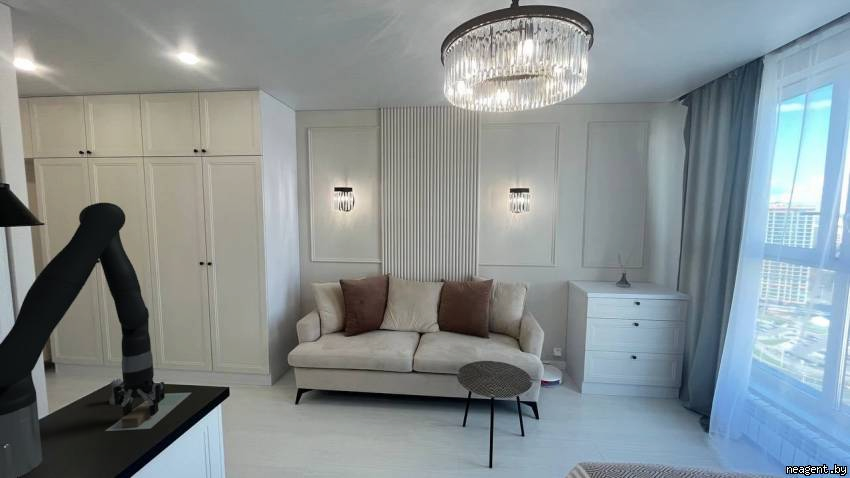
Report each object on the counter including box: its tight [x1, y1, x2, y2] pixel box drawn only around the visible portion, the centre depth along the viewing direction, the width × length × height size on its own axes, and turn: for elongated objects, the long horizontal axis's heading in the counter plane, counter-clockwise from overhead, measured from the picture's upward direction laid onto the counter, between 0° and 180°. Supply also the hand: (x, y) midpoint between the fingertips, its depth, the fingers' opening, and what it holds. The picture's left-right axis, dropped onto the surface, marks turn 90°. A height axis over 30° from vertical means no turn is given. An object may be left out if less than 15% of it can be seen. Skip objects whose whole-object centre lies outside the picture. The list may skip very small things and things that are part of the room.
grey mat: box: [105, 392, 192, 432], centre depth 113 cm, size 21×13×1 cm, turn 5°
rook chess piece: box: [108, 378, 123, 405], centre depth 118 cm, size 4×4×8 cm
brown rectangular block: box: [121, 401, 159, 428], centre depth 108 cm, size 9×4×3 cm, turn 5°
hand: (141, 415), depth 108 cm, fingers open, 7 cm apart
